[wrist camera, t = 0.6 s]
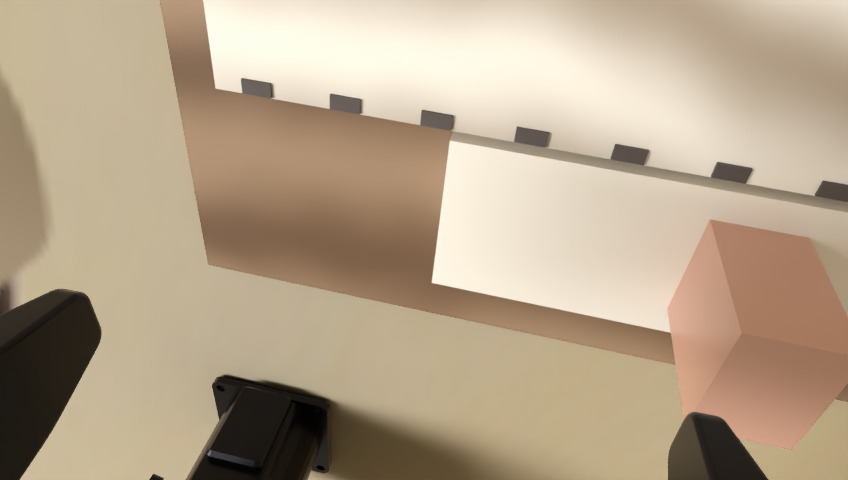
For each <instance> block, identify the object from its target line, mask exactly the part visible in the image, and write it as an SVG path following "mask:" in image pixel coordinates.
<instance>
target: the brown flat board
mask: <svg viewBox="0 0 848 480" xmlns="http://www.w3.org/2000/svg"><path fill="white" fill-rule="evenodd" d="M160 5H161V10H162V15H163V21H164V26H165V32H166V37H167V43H168V48H169V53H170V59H171V64H172V70H173V75H174V81H175V86H176V91H177V97H178V102H179V108H180V113H181V119H182V124H183V130H184V135H185V140H186V146H187V151H188V157H189V162H190V168H191V173H192V178H193V184H194V189H195V195H196V200H197V206H198V211H199V216H200V222H201V227H202V233H203V238H204V244H205V249H206V255H207V260H208V265H212V266H216V267H221V268H226V269H230V270H235V271H240V272H244V273H249V274H254V275H258V276H263V277H268V278H272V279H277V280H282V281H286V282H291V283H296V284H300V285H305V286H310V287H314V288H319V289H324V290H328V291H333V292H338V293H342V294H347V295H352V296H356V297H361V298H366V299H370V300H375V301H380V302H384V303H389V304H394V305H398V306H403V307H408V308H412V309H417V310H422V311H426V312H431V313H436V314H440V315H445V316H450V317H454V318H459V319H464V320H468V321H473V322H478V323H482V324H487V325H492V326H496V327H501V328H506V329H510V330H515V331H520V332H524V333H529V334H534V335H538V336H543V337H548V338H552V339H557V340H562V341H566V342H571V343H576V344H580V345H585V346H590V347H594V348H599V349H604V350H608V351H613V352H618V353H622V354H627V355H632V356H636V357H641V358H645V359H650V360H655V361H659V362H664V363H669V364H673V365H676V364H675V357H674V351H673V344H672V337H671V333H669V332H665V331H660V330H655V329H650V328H646V327H641V326H636V325H631V324H626V323H622V322H617V321H612V320H607V319H602V318H598V317H593V316H588V315H583V314H578V313H574V312H569V311H564V310H559V309H555V308H550V307H545V306H540V305H535V304H531V303H526V302H521V301H516V300H511V299H507V298H502V297H497V296H492V295H487V294H483V293H478V292H473V291H468V290H464V289H459V288H454V287H449V286H444V285H440V284H435V283H432V276H433V268H434V261H435V253H436V245H437V237H438V229H439V221H440V213H441V205H442V198H443V190H444V182H445V174H446V166H447V158H448V150H449V143H450V139H451V136H452V133H453V131H455V132H461V133H466V134H472V135H477V136H483V137H488V138H494V139H500V140H505V141H511V142H516V143H521V144H527V145H532V146H538V147H544V148H550V149H555V150H561V151H566V152H572V153H578V154H583V155H589V156H594V157H600V158H606V159H611V160H616V161H622V162H627V163H633V164H638V165H645V166H650V167H656V168H661V169H667V170H672V171H678V172H684V173H689V174H695V175H700V176H706V177H711V178H716V179H722V180H727V181H733V182H739V183H744V184H750V185H756V186H762V187H767V188H773V189H778V190H784V191H789V192H795V193H801V194H806V195H812V196H817V197H822V198H828V199H833V200H839V201H844V202H848V0H160ZM835 399H837V400H841V401H846V402H848V384H847V385H846V386H845V387H844V389H843V390H842V391H841V392H840V393H839V395H838V396H837V397H836V398H835Z"/></svg>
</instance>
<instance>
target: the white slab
mask: <svg viewBox="0 0 848 480" xmlns="http://www.w3.org/2000/svg"><path fill="white" fill-rule="evenodd" d="M432 283H435V284H440V285H444V286H449V287H454V288H459V289H464V290H468V291H473V292H478V293H483V294H487V295H492V296H497V297H502V298H507V299H511V300H516V301H521V302H526V303H531V304H535V305H540V306H545V307H550V308H555V309H559V310H564V311H569V312H574V313H578V314H583V315H588V316H593V317H598V318H602V319H607V320H612V321H617V322H622V323H626V324H631V325H636V326H641V327H646V328H650V329H655V330H660V331H665V332H669V333H671V337H672V344H673V351H674V357H675V364H676V370H677V377H678V384H679V390H680V397H681V403H682V410H683V416H684V419H685V417H686V416H687V415H688V414H689V413H690V412H700V413H705V414H710V415H715V416H719V417H721V418H722V419H723V420H725V421H726V422H727V424H728V425H729V426H730V428H731V429H732V431H733V432H734V433H735V435H736V436H737V437H738V438H739V439H744V440H748V441H752V442H757V443H761V444H766V445H770V446H775V447H779V448H784V449H788V450H793V449H794V447H795V446H796V445H797V444H798V443H799V441H800V440H801V439H802V438H803V437H804V435H805V434H806V433H807V432H808V431H809V429H810V428H811V427H812V426H813V425H814V423H815V422H816V421H817V420H818V419H819V417H820V416H821V415H822V414H823V413H824V411H825V410H826V409H827V408H828V407H829V405H830V404H831V403H832V402H833V401H834V399H835V398H836V397H837V396H838V395H839V393H840V392H841V391H842V390H843V389H844V387H845V386H846V385H847V384H848V202H844V201H839V200H833V199H828V198H822V197H817V196H812V195H806V194H801V193H795V192H789V191H784V190H778V189H773V188H767V187H762V186H756V185H750V184H744V183H739V182H733V181H727V180H722V179H716V178H711V177H706V176H700V175H695V174H689V173H684V172H678V171H672V170H667V169H661V168H656V167H650V166H645V165H638V164H633V163H627V162H622V161H616V160H611V159H606V158H600V157H594V156H589V155H583V154H578V153H572V152H566V151H561V150H555V149H550V148H544V147H538V146H532V145H527V144H521V143H516V142H511V141H505V140H500V139H494V138H488V137H483V136H477V135H472V134H466V133H461V132H455V131H453V133H452V136H451V139H450V143H449V150H448V158H447V166H446V174H445V182H444V190H443V198H442V205H441V213H440V221H439V229H438V237H437V245H436V253H435V261H434V268H433V276H432Z"/></svg>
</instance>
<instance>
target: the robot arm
mask: <svg viewBox="0 0 848 480" xmlns="http://www.w3.org/2000/svg"><path fill="white" fill-rule="evenodd" d="M100 339H101V327H100V324H99V322H98V319H97V317H96V314H95V312H94V309H93V307H92V304H91V302H90V299H89V298H88V296H87V295H86V294H84V293H82V292H78V291H73V290H68V289H56V290H53V291H51V292H49V293H46V294H44V295H42V296H40V297H38V298H36V299H33V300H31V301H29V302H27V303H25V304H23V305H20V306H18V307H16V308H14V309H12V310H10V311H8V312H5V313H3V314H1V315H0V480H20V478H21V477H22V475H23V474H24V472H25V471H26V469H27V468H28V467H29V465H30V464H31V462H32V461H33V459H34V458H35V456H36V455H37V453H38V452H39V450H40V449H41V447H42V446H43V444H44V443H45V441H46V439H47V438H48V436H49V435H50V433H51V432H52V430H53V428H54V426H55V425H56V423H57V421H58V420H59V418H60V416H61V414H62V412H63V410H64V409H65V407H66V405H67V403H68V401H69V399H70V397H71V396H72V394H73V392H74V390H75V388H76V386H77V384H78V383H79V381H80V379H81V377H82V375H83V373H84V371H85V370H86V368H87V366H88V364H89V362H90V360H91V358H92V357H93V355H94V353H95V351H96V349H97V347H98V345H99V343H100ZM212 388H213V392H214V397H215V402H216V406H217V411H218V416H219V422H218V424H217V425H216V427H215V429H214V431H213V433H212V434H211V436H210V438H209V440H208V441H207V443H206V445H205V447H204V448H203V450H202V452H201V454H200V455H199V457H198V459H197V461H196V462H195V464H194V466H193V468H192V470H191V471H190V473H189V475H188V477H187V478H186V480H308V477H309V475H310V472H311V470H313V471H317V472H321V473H327V472H328V471H329V468H330V465H331V441H330V407H329V405H328V404H327V403H326V402H325V401H322V400H319V399H315V398H311V397H306V396H302V395H298V394H294V393H289V392H285V391H281V390H277V389H272V388H268V387H264V386H260V385H256V384H251V383H247V382H243V381H239V380H234V379H230V378H226V377H217V378H216V379H215V381H214V383H213V384H212ZM150 480H164V478H162V477H160V476H158V475H155V474H153V475H152V477H151V478H150ZM668 480H768V479H767V477H766V476H765V475H764V473H763V472H762V470H761V469H760V468H759V466H758V465H757V464H756V462H755V461H754V459H753V458H752V457H751V455H750V454H749V453H748V451H747V450H746V448H745V447H744V446H743V444H742V443H741V442H740V440H739V439H738V437H737V436H736V435H735V433H734V432H733V431H732V429H731V428H730V426H729V425H728V424H727V422H726V421H725V420H723V419H722V418H721V417H719V416H715V415H710V414H705V413H700V412H690V413H689V414H688V415H687V416H686V417H685V419H684V421H683V423H682V425H681V427H680V429H679V431H678V433H677V435H676V437H675V438H674V440H673V442H672V444H671V447H670V450H669V456H668Z"/></svg>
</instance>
